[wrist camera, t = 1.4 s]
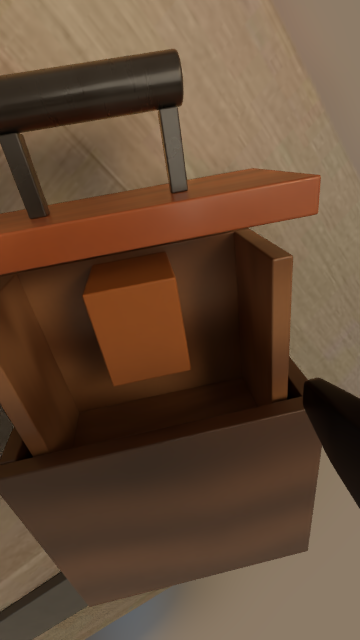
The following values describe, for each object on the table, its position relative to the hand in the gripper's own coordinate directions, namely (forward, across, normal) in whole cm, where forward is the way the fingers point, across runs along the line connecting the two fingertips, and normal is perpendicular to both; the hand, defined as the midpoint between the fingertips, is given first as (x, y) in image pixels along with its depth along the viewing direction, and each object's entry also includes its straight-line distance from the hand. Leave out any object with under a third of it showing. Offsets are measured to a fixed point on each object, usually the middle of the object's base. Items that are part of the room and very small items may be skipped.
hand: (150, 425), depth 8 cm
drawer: (+9, 0, -1) cm, 9 cm away
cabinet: (+10, 0, +11) cm, 15 cm away
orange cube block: (+8, 0, 0) cm, 8 cm away
